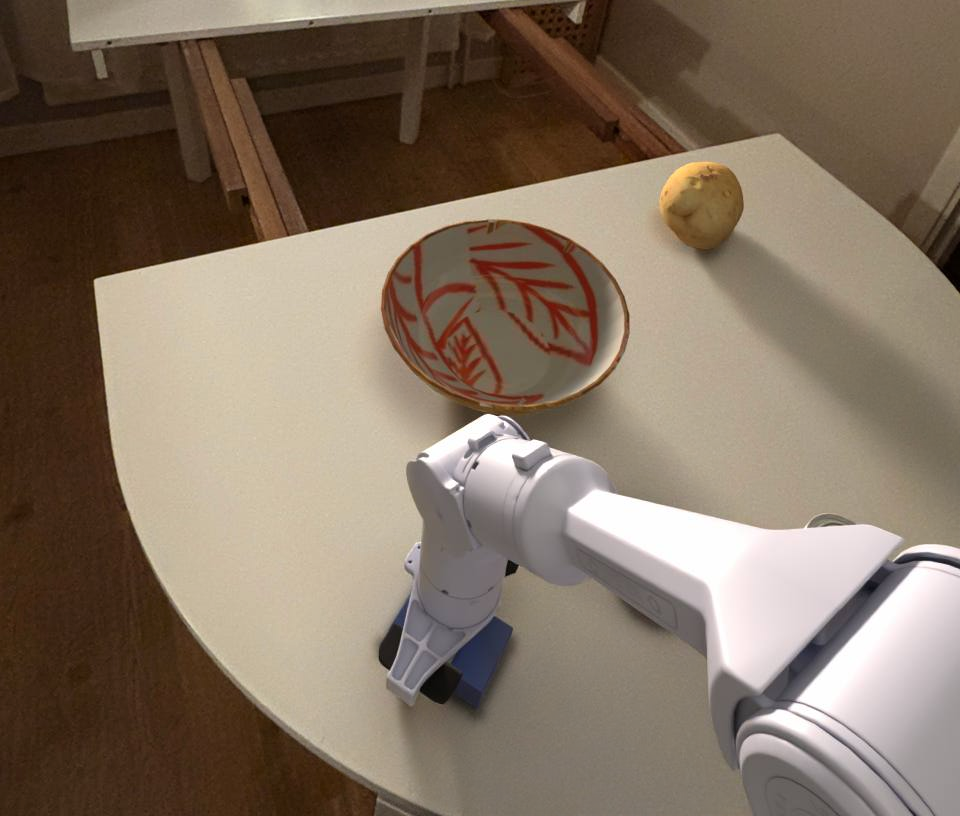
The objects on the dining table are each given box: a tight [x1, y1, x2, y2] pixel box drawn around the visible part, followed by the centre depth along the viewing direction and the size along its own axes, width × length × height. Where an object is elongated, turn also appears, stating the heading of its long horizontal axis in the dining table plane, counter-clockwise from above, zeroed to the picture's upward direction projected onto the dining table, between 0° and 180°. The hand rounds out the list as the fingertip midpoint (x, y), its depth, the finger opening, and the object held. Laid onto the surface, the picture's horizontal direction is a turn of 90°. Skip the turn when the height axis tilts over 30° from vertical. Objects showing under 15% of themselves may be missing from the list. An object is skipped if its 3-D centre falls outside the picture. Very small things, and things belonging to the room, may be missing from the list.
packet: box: [387, 592, 514, 710], centre depth 58 cm, size 8×5×4 cm, turn 61°
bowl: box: [380, 218, 631, 416], centre depth 79 cm, size 25×25×8 cm
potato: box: [659, 161, 745, 250], centre depth 97 cm, size 10×12×10 cm
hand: (449, 636), depth 58 cm, fingers open, 7 cm apart
